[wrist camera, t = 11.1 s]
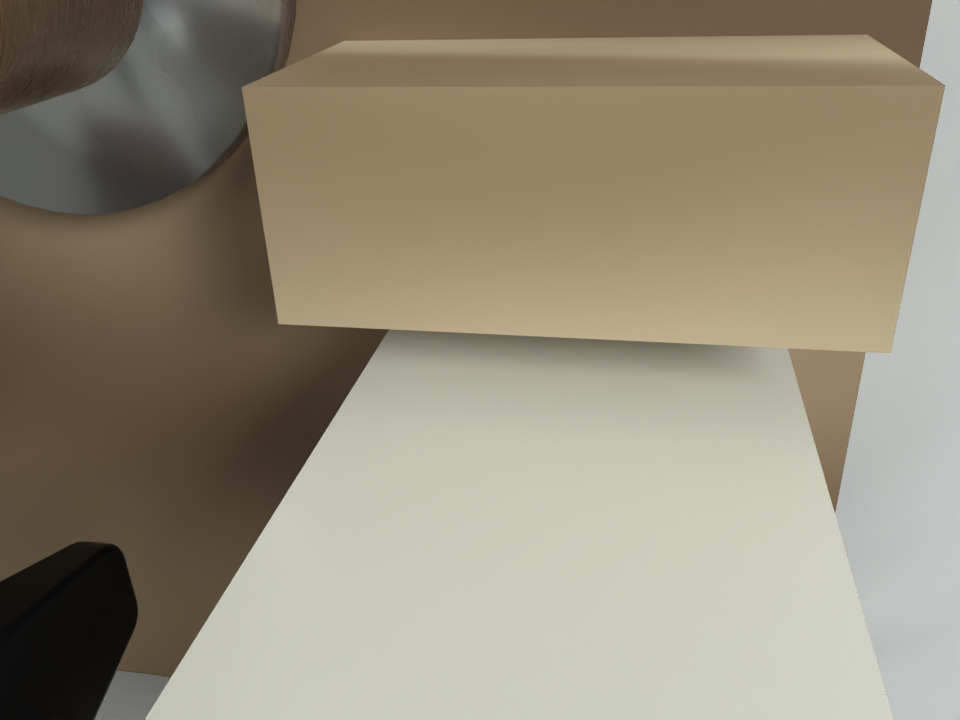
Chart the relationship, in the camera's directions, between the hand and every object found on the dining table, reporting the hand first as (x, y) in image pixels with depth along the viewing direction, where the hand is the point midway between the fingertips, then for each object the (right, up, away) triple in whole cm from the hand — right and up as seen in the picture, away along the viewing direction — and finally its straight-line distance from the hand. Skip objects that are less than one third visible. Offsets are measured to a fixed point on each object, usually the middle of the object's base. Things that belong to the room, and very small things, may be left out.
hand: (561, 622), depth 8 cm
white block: (+1, +1, +2) cm, 3 cm away
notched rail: (0, +1, +2) cm, 3 cm away
